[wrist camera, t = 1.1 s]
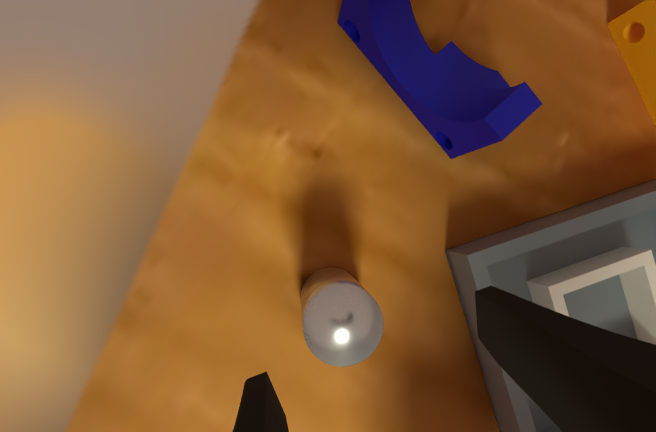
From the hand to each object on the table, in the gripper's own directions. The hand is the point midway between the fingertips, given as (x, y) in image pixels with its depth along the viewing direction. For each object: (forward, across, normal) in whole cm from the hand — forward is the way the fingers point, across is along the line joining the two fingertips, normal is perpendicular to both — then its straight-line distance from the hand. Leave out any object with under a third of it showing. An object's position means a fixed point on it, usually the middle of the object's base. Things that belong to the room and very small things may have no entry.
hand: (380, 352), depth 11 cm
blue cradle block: (+15, -10, -7) cm, 20 cm away
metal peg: (+11, 0, +5) cm, 12 cm away
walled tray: (+7, -17, +12) cm, 22 cm away
